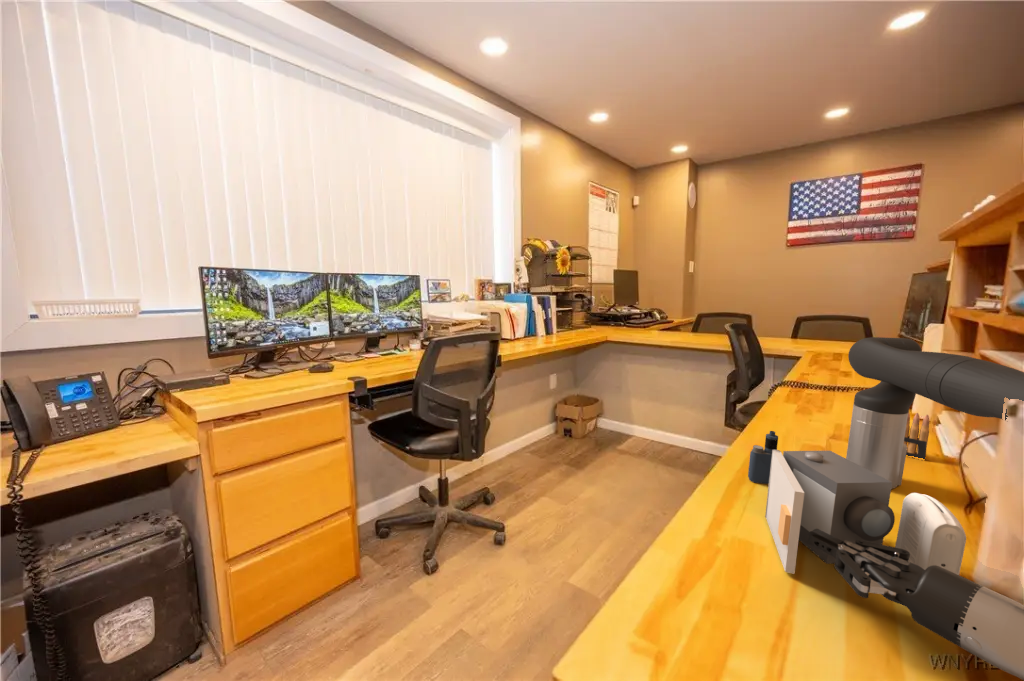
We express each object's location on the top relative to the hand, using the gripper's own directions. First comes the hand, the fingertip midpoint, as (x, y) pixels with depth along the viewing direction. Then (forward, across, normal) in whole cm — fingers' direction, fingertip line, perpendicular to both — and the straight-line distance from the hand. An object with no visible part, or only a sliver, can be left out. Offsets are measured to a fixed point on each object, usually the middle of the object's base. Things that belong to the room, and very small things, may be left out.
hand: (811, 535), depth 62 cm
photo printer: (-8, -17, +7) cm, 20 cm away
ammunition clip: (+14, -72, +7) cm, 74 cm away
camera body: (+3, -12, +7) cm, 14 cm away
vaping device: (+22, -24, +7) cm, 33 cm away
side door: (+7, -4, +6) cm, 10 cm away
